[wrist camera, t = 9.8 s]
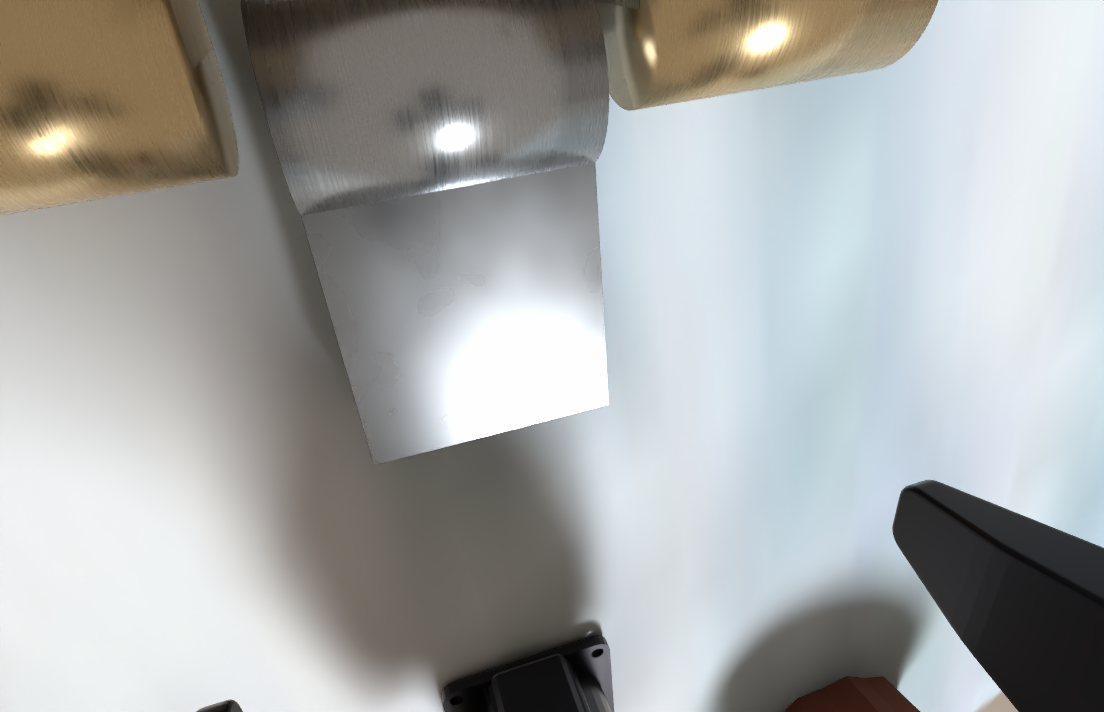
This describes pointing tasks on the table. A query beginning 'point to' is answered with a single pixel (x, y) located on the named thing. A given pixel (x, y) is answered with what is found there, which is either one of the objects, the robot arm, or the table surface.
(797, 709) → the muffin
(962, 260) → the table surface
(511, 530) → the table surface
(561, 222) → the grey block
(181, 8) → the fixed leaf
